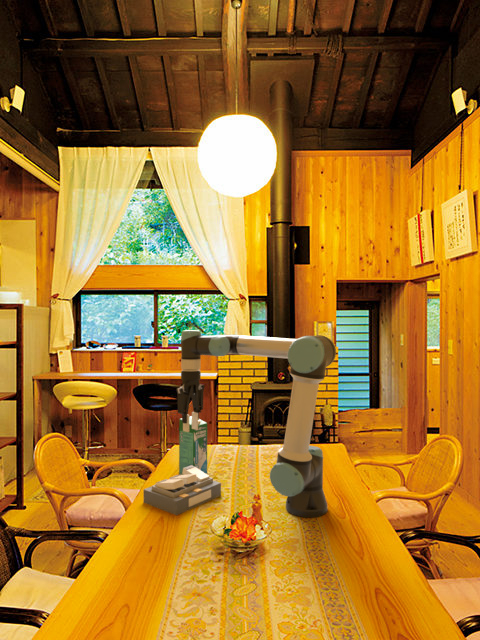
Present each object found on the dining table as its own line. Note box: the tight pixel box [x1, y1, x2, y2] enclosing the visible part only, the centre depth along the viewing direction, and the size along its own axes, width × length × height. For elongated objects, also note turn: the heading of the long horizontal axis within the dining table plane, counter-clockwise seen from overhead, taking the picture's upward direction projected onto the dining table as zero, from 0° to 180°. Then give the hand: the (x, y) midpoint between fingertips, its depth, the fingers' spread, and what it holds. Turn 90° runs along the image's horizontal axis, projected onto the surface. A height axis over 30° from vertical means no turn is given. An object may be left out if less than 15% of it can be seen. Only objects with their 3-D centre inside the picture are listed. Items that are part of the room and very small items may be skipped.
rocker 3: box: [182, 465, 210, 482], centre depth 186 cm, size 10×5×3 cm, turn 51°
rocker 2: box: [168, 474, 197, 484], centre depth 181 cm, size 10×5×3 cm, turn 51°
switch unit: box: [143, 476, 222, 516], centre depth 181 cm, size 18×24×7 cm
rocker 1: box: [154, 478, 184, 490], centre depth 176 cm, size 10×5×3 cm, turn 51°
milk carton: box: [178, 415, 208, 475], centre depth 211 cm, size 9×9×25 cm
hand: (190, 430), depth 181 cm, fingers open, 4 cm apart
